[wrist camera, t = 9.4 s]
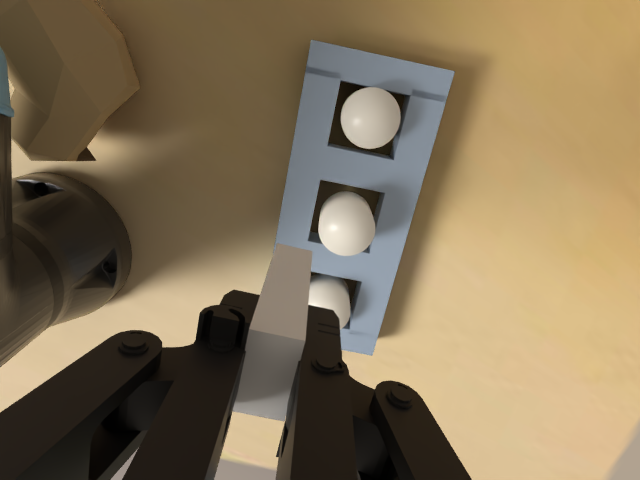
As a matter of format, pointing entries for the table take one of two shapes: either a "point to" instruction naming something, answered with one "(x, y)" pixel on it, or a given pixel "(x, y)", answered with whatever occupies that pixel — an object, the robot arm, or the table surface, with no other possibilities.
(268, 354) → the robot arm
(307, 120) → the button board
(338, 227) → the button middle
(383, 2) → the table surface
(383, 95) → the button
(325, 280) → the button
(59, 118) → the low-poly potato
